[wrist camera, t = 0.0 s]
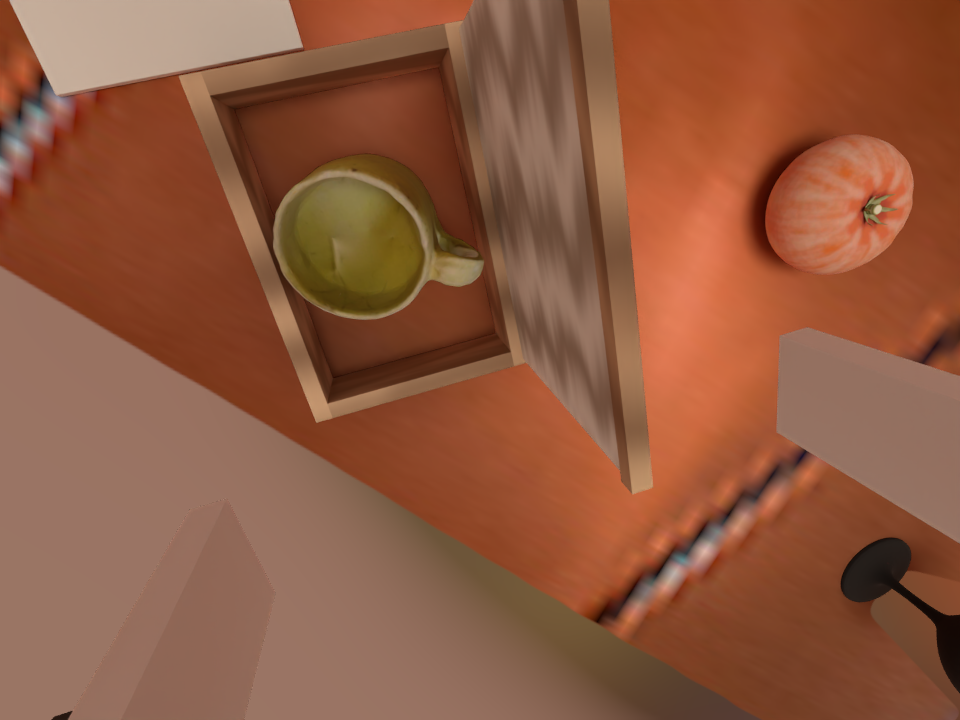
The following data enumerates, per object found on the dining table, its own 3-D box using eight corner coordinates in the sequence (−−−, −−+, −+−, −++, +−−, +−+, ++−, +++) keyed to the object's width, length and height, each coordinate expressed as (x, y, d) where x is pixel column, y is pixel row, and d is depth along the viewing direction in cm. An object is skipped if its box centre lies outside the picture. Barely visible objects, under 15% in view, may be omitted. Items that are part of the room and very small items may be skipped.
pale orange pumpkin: (719, 228, 41) (793, 237, 34) (797, 112, 39) (895, 95, 32) (794, 287, 45) (876, 307, 38) (870, 184, 43) (972, 183, 36)
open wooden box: (207, 92, 31) (-111, -90, 11) (458, 42, 33) (591, -193, 12) (323, 395, 39) (267, 613, 19) (517, 340, 41) (653, 487, 21)
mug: (278, 268, 35) (243, 296, 26) (322, 129, 33) (301, 106, 23) (431, 324, 39) (449, 366, 30) (480, 204, 37) (516, 209, 27)
